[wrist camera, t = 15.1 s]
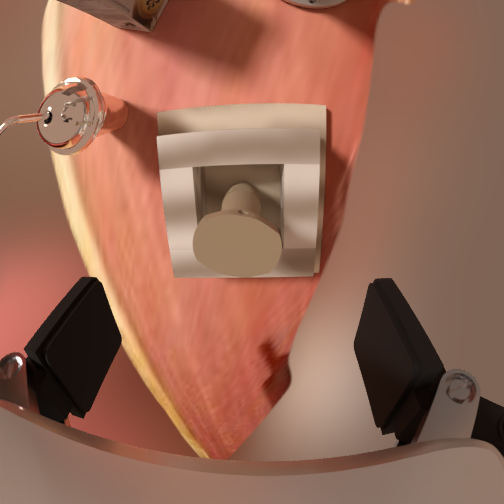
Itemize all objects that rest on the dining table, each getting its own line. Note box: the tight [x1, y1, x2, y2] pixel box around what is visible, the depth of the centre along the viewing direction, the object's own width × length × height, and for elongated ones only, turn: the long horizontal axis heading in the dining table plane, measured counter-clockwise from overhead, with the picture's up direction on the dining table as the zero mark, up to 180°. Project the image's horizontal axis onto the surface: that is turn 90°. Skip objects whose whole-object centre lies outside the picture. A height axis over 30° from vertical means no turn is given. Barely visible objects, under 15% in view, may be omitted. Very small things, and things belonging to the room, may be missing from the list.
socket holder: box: [157, 103, 326, 278], centre depth 32 cm, size 22×20×7 cm
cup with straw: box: [0, 77, 128, 155], centre depth 21 cm, size 8×9×20 cm
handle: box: [193, 181, 282, 278], centre depth 27 cm, size 5×6×15 cm
